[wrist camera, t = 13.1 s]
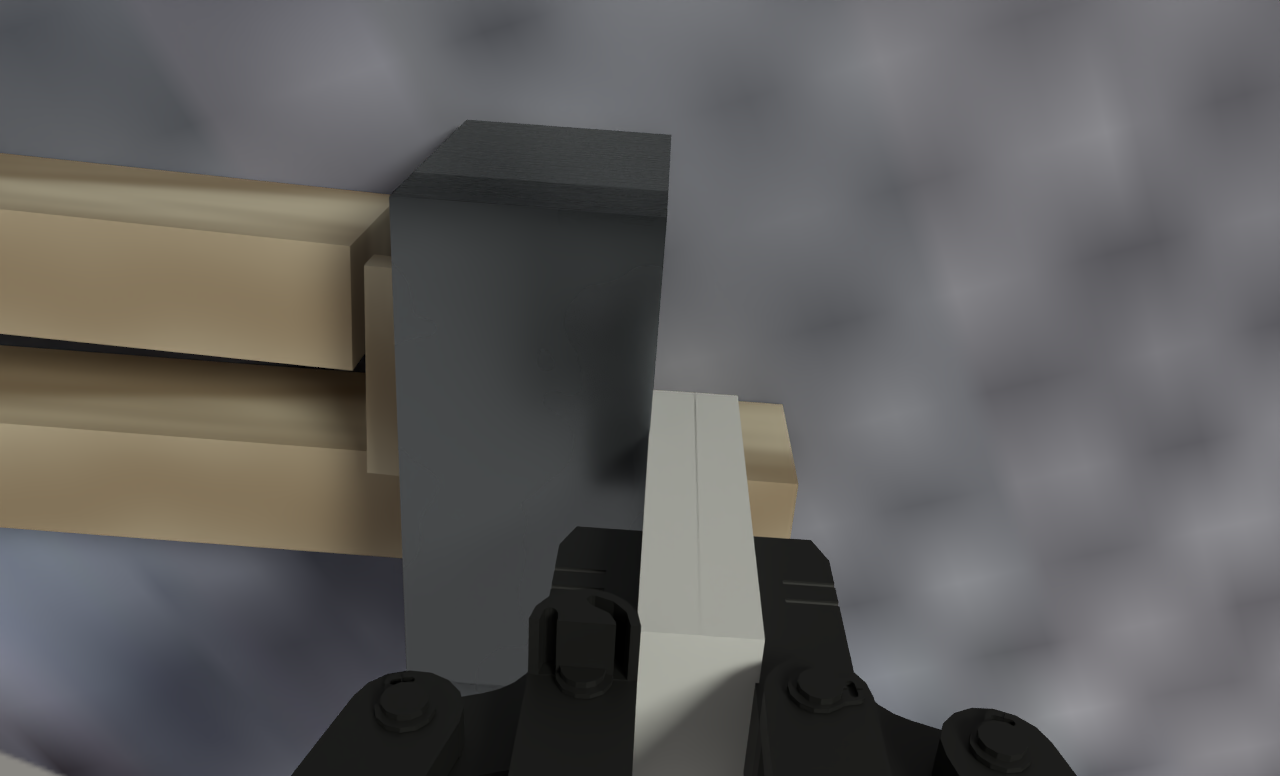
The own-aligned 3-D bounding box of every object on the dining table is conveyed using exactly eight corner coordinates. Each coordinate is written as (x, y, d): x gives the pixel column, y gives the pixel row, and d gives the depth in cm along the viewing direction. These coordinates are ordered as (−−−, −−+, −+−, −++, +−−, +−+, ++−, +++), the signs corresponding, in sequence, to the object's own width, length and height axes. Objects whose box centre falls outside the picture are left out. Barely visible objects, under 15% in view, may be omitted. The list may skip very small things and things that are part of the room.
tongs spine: (-323, 227, 22) (-496, 282, 19) (795, 311, 22) (814, 382, 19) (-258, 423, 24) (-404, 502, 21) (768, 501, 24) (782, 594, 21)
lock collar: (466, 119, 20) (389, 196, 15) (671, 134, 20) (667, 217, 15) (468, 534, 24) (408, 712, 19) (638, 548, 24) (626, 729, 19)
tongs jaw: (-382, 107, 21) (-629, 154, 17) (568, 208, 21) (542, 279, 17) (-322, 296, 23) (-535, 378, 19) (556, 388, 23) (529, 489, 19)
